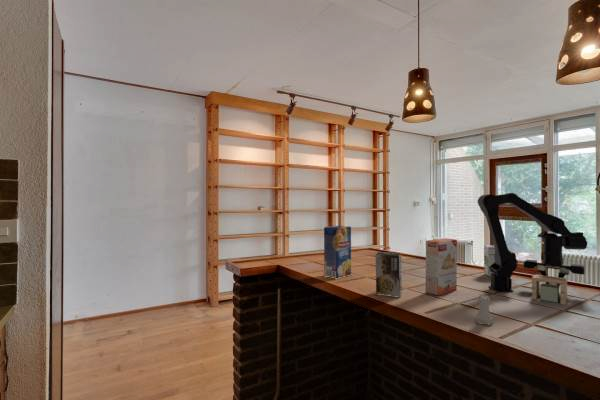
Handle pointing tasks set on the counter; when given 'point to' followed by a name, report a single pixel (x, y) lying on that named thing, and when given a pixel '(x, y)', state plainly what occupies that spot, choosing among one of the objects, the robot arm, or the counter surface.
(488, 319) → the rook chess piece
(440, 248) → the cracker box
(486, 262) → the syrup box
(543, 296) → the tethered block
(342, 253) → the blue food box
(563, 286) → the shelf lane
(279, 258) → the counter surface
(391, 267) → the coffee box
